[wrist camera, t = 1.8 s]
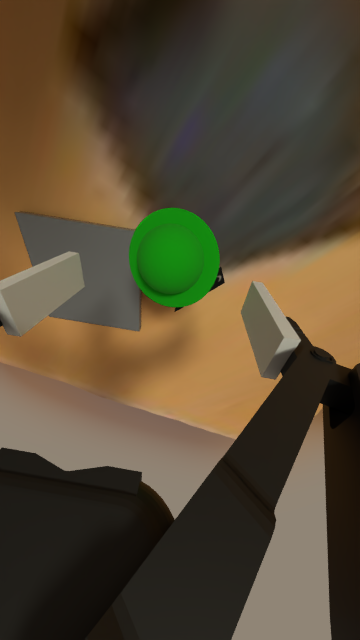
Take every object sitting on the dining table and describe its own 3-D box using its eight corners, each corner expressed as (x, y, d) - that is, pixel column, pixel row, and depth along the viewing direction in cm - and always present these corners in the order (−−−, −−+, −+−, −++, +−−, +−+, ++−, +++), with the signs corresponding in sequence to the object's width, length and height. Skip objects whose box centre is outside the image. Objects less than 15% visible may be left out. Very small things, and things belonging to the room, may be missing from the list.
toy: (176, 277, 31) (158, 334, 19) (140, 230, 27) (89, 262, 15) (224, 244, 27) (242, 288, 15) (190, 185, 24) (177, 179, 12)
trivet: (21, 211, 28) (14, 212, 27) (142, 230, 27) (139, 232, 26) (53, 313, 38) (49, 316, 37) (141, 327, 38) (139, 331, 37)
